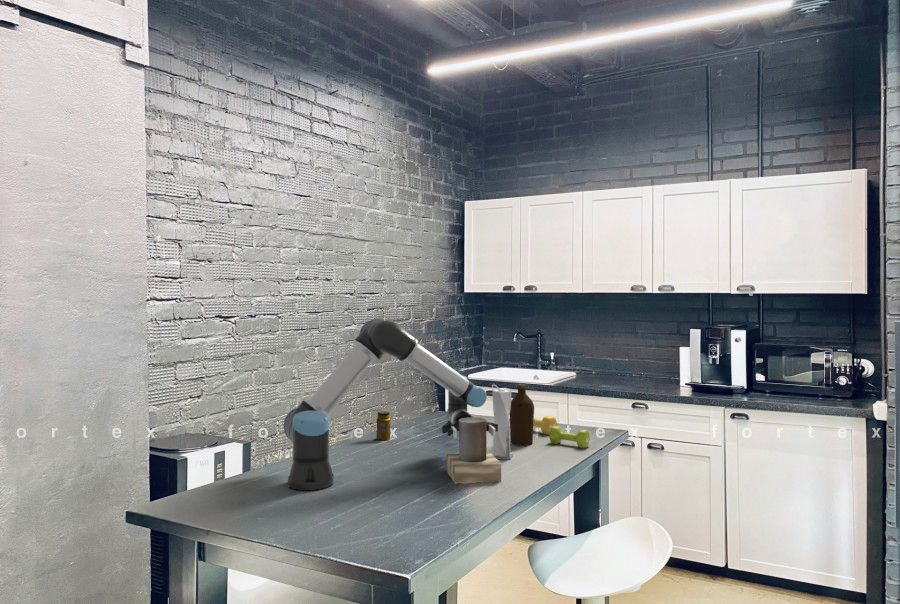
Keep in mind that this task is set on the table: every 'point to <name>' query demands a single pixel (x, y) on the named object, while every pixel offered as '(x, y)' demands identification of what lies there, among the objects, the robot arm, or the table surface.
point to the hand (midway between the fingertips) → (475, 433)
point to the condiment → (383, 427)
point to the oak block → (473, 469)
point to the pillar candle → (472, 439)
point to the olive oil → (521, 418)
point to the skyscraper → (502, 423)
